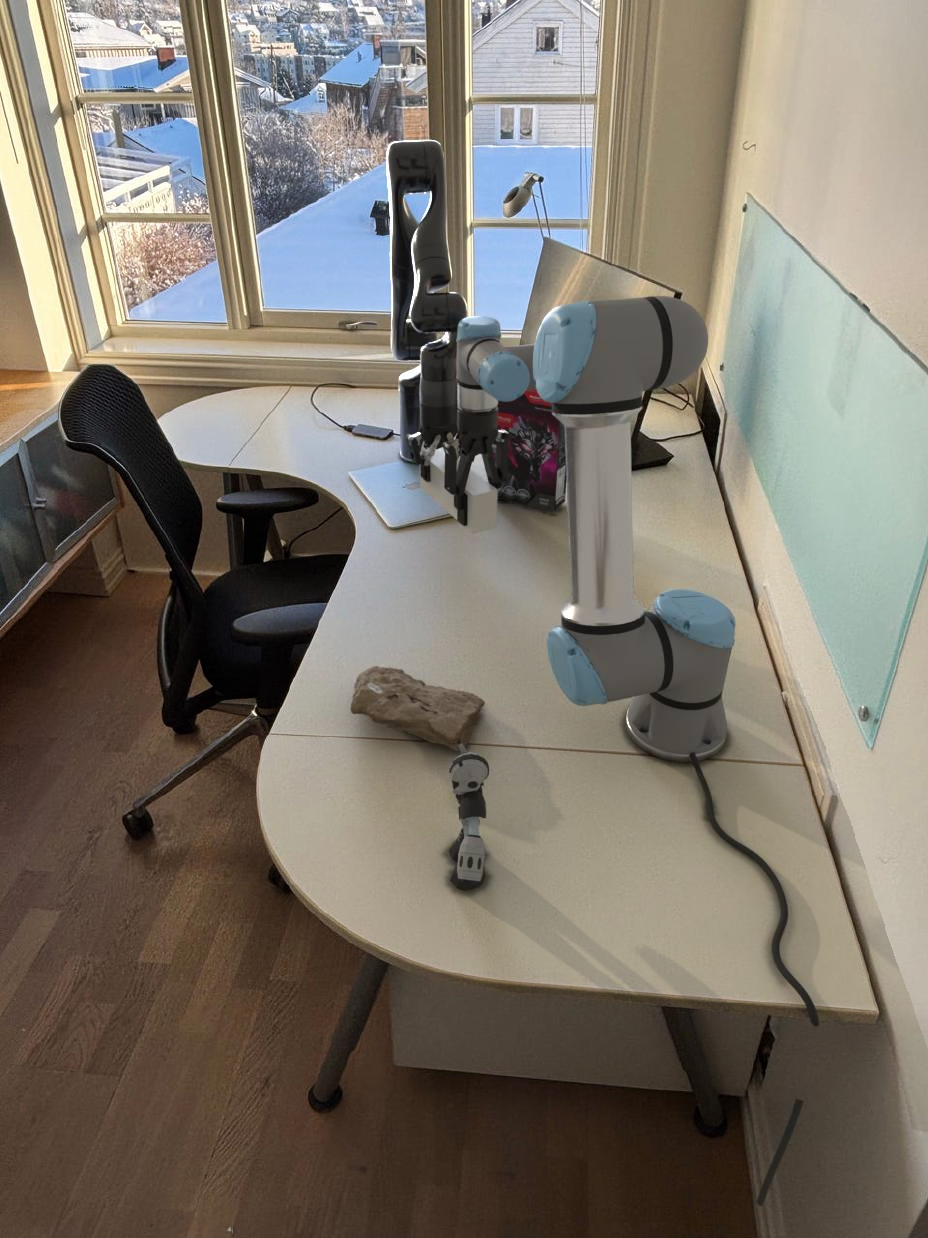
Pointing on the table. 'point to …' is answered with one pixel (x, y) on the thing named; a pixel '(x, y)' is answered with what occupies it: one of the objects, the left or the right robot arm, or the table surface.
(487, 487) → the bar
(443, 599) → the table surface
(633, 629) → the right robot arm
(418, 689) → the stone
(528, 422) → the graphics card box
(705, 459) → the table surface
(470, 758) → the robot
